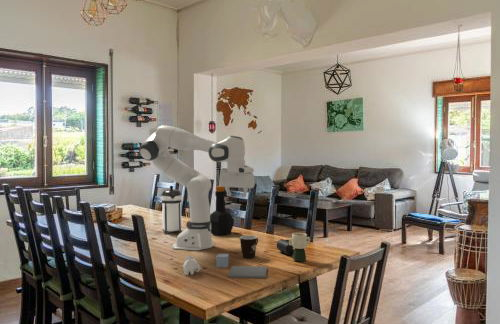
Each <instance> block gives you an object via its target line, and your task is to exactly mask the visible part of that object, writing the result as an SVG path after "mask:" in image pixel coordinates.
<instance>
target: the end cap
mask: <svg viewBox="0 0 500 324" xmlns="http://www.w3.org/2000/svg"><path fill="white" fill-rule="evenodd" d="M291 243H292V241H291ZM276 249H278V251H280V252H281V253H284V254H286V255H288V256H289V257H291V256H292V257H293V254H294V249H295V248H294V247H293V246H292V245H289V239H283V238H279V240H278V241H277V242H276Z"/></svg>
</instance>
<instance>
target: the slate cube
mask: <svg viewBox="0 0 500 324" xmlns="http://www.w3.org/2000/svg"><path fill="white" fill-rule="evenodd" d="M215 258H216V259H215V263H216V268H228V267H229V265H230V261H229V260H230V255H229V253H218V254H216V257H215Z"/></svg>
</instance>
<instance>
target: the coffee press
mask: <svg viewBox="0 0 500 324" xmlns="http://www.w3.org/2000/svg"><path fill="white" fill-rule="evenodd" d="M161 207H162V209H161V211H162V215H161V217H162V232H163V234H164V235H167V234H168V233H170V232H178V233H179V234H180V233H181V232H182V231H183V230H182V192H181V190H179V189H174V186H173V185H170V186H169V189H164V190H163V191H162V192H161Z"/></svg>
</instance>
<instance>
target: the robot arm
mask: <svg viewBox="0 0 500 324" xmlns="http://www.w3.org/2000/svg"><path fill="white" fill-rule="evenodd" d="M170 149H173V150H176V151H177V150H179V151H202V152H205V153H208V156H209V158H210V159H211V160H212V162H216V163H222V162H223V163H224V162H226V163H227V167H226V168H221V170H220V171H219V178H218V183H219V184H218V186H222V187H224V191H225V193H226V196H227V197H231V196H232V191H231V190H230V188H239V189H243V192H242V193H241V197H242V198H247V193H248V192H249V189H254V187H255V183H256V182H255V181H256V179H255V174H254V168H253V167H251V166H249V165H246V159H245V154H246V147H245V141H244V139H243V137H242V136H241V137H240V136H237V135H236V136H235V135H229V136H227V137H226V138H224V139H223V140H221V141H219V142H216V141H213V140H209V139H206V138H203V137H200V136H198V135H196V134H193V133H191V132H189V131H188V130H186V129H182V128H180V127H177V126H172V125H165V124H164V125H163V124H162V125H160V126H158V127H157V128H156V130H155V131H154V132H153V133H152V134H150V135H149V136H148V138H146V140H144V141H143V142H142V143H141V144H140V146H139V148H138V152H139V155H140V156H141V157H142V159H144V160H145V161H149V162H152V164H153V165H154V166H155V168H156V169H158V170H159V171H160V172H161V173H163V174H164V175H165V176H166V177H168V178H169V179H171V180H172V181H174V182H175V183H177V184H180V185H182V186H183V187H185V188H186V192H187V196H188V197H187V198H188V199H187V200H188V203H189V204H188V205H189V220H187V222H186V223H185V224H186V228H185V229H183V230H182V232H181V231H180V232H181V233H179V234H178V235H177V237H176V242H175V243H173V244H172V245H171V248H172V249H173V250H187V251H200V250H201V251H202V250H205V249H210V248H212V247H214V243H213V239H212V233H211V221H210V214H211V205H210V201H209V192H210V191H211V189H212V181H211V179H210V178H209V177H208V176H206V175H205V174H203V173H201V172H199V171H197V169H194V168H192V167H191V166H189V165H187V164H186V163H185V162H183V161H182V160H181V159H179V158H177V157H176V156H174V155H172V154H171V153H170V151H169V150H170Z"/></svg>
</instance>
